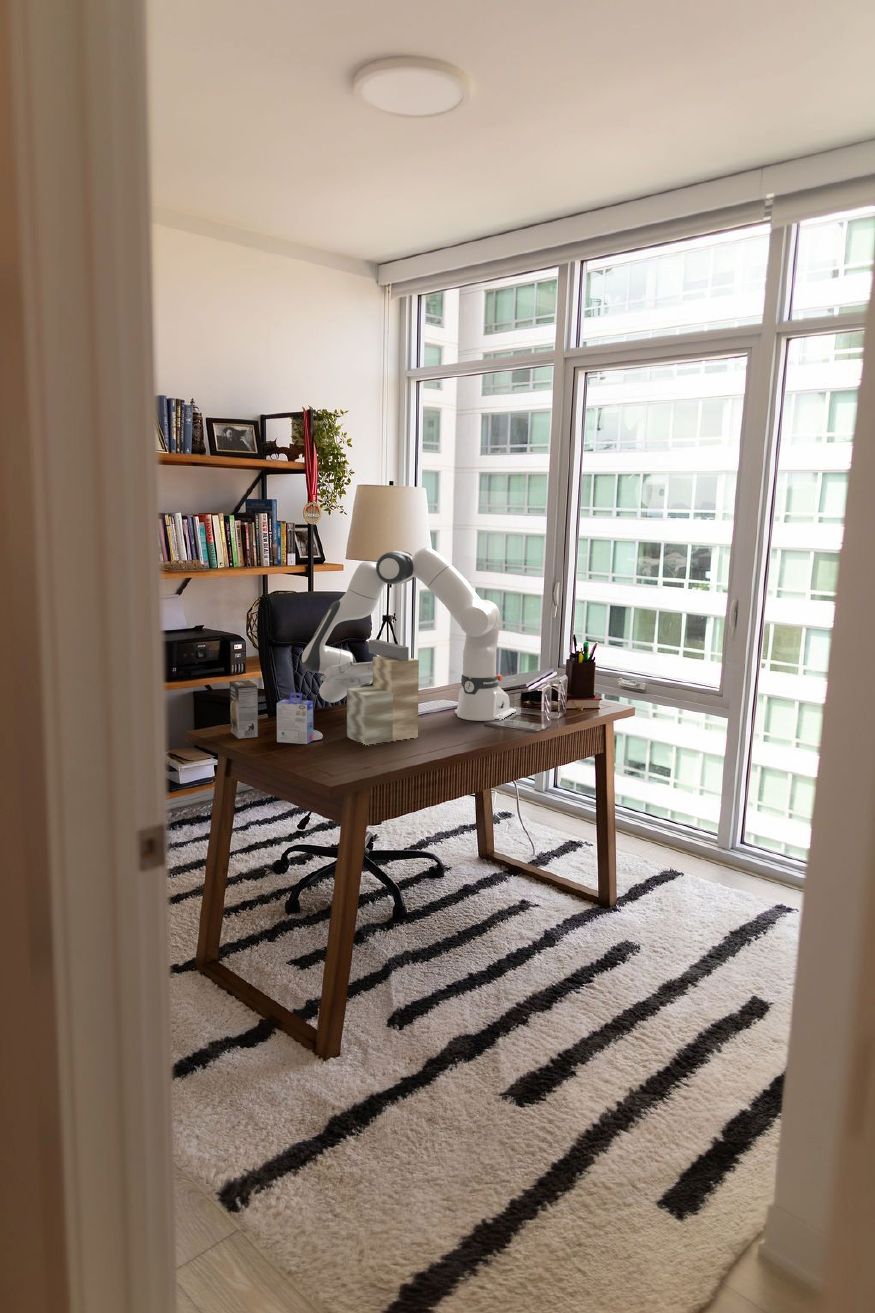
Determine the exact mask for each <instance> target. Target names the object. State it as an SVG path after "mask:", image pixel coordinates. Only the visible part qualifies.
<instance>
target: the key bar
mask: <svg viewBox="0 0 875 1313" xmlns="http://www.w3.org/2000/svg"><path fill="white" fill-rule="evenodd" d="M409 652H410V650H409V646H406V645H405V646H404V645H401V644H398V643H393V642H389V641H385V640H381V639H368V653H369V654H372V655H376V656H383V657H386V658H390V659H393V660H397V661H409V658H410V657H409V655H410V654H409Z"/></svg>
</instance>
